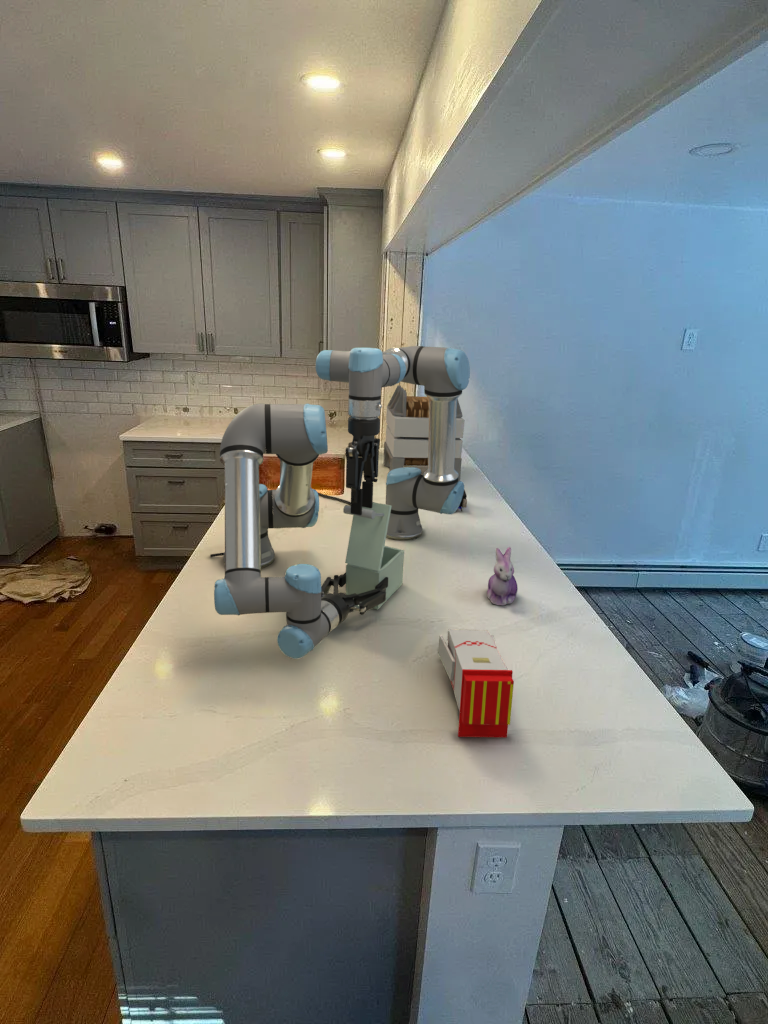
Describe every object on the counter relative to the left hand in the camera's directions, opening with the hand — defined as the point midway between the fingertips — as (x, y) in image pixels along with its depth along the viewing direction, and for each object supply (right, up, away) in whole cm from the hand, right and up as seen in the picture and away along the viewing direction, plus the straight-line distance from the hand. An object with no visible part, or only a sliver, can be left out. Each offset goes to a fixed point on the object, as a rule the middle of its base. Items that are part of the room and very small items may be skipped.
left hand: (369, 577), depth 152 cm
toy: (+22, -20, -34) cm, 45 cm away
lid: (0, +12, -5) cm, 13 cm away
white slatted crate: (+21, +36, +123) cm, 130 cm away
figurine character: (+33, +19, +77) cm, 86 cm away
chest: (+1, -5, +6) cm, 7 cm away
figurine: (+37, -7, +5) cm, 38 cm away
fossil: (-11, +49, +154) cm, 162 cm away
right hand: (-2, +18, -12) cm, 22 cm away
